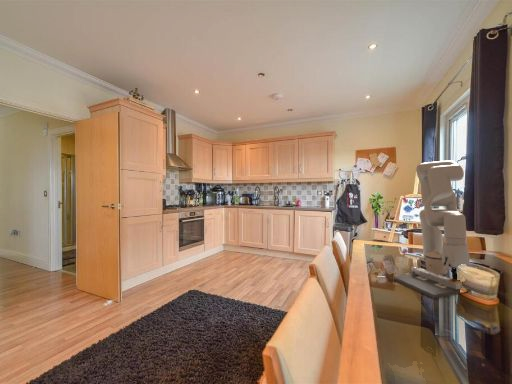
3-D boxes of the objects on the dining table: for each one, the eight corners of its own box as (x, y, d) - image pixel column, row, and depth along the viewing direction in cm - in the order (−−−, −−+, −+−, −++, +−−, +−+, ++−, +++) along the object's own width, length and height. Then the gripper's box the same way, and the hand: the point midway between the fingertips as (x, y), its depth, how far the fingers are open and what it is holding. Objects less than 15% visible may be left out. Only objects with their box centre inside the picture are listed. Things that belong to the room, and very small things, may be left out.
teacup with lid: (445, 270, 121) (444, 248, 121) (448, 276, 113) (447, 253, 113) (418, 267, 127) (417, 247, 127) (419, 273, 120) (418, 251, 120)
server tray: (422, 274, 117) (422, 270, 117) (468, 292, 97) (468, 287, 97) (393, 279, 114) (393, 275, 114) (434, 298, 93) (433, 293, 93)
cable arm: (409, 271, 116) (409, 265, 116) (415, 270, 117) (415, 264, 117) (455, 289, 94) (455, 282, 94) (462, 288, 95) (461, 281, 95)
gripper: (459, 237, 106) (462, 276, 106) (433, 240, 103) (435, 280, 103) (478, 241, 99) (480, 282, 99) (450, 244, 96) (452, 287, 96)
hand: (457, 281), depth 101 cm, fingers closed
